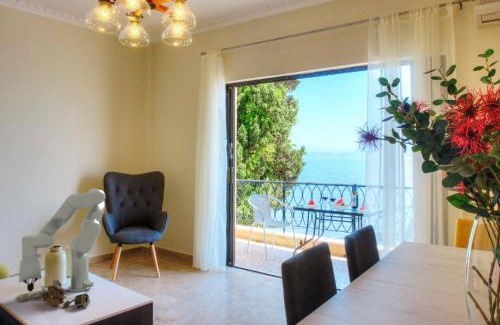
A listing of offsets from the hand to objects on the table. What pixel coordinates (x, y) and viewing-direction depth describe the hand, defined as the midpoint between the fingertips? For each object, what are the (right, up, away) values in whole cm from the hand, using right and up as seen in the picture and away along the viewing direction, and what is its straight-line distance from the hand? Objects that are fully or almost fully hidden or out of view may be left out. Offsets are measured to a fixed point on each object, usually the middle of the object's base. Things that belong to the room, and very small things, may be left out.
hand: (30, 290), depth 196 cm
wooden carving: (+18, -4, -10) cm, 21 cm away
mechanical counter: (+32, -4, -12) cm, 34 cm away
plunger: (+6, -2, +2) cm, 7 cm away
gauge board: (+3, -4, +3) cm, 6 cm away
